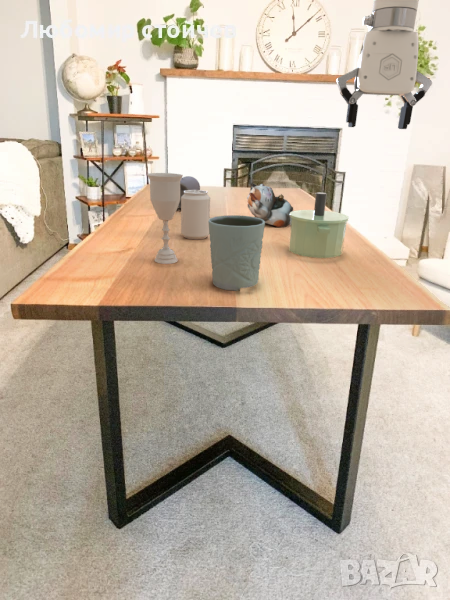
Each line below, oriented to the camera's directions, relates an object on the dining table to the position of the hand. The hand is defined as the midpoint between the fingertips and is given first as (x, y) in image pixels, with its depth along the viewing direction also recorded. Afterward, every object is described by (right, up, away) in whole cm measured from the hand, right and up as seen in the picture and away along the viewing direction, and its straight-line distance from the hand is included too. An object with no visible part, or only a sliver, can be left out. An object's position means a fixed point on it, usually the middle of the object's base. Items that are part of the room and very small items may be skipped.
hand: (376, 127), depth 85 cm
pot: (-8, -22, +22) cm, 32 cm away
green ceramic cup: (-27, -30, -1) cm, 41 cm away
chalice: (-42, -25, +11) cm, 50 cm away
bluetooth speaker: (-44, +1, +77) cm, 88 cm away
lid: (-7, -14, +19) cm, 24 cm away
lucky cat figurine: (-15, -9, +53) cm, 56 cm away
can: (-37, -16, +33) cm, 52 cm away
